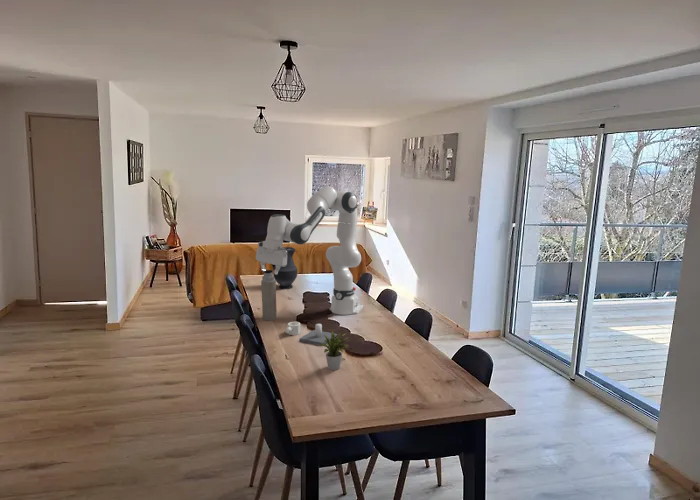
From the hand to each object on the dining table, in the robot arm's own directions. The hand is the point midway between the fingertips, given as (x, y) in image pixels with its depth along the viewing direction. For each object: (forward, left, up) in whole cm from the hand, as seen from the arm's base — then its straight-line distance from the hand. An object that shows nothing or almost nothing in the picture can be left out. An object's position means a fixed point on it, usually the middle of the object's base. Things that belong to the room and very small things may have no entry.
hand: (269, 272), depth 246 cm
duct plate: (-5, +26, -33) cm, 42 cm away
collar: (-5, +10, -33) cm, 34 cm away
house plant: (+23, +50, -33) cm, 64 cm away
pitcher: (-82, -49, -33) cm, 101 cm away
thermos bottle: (-21, -16, -33) cm, 42 cm away
